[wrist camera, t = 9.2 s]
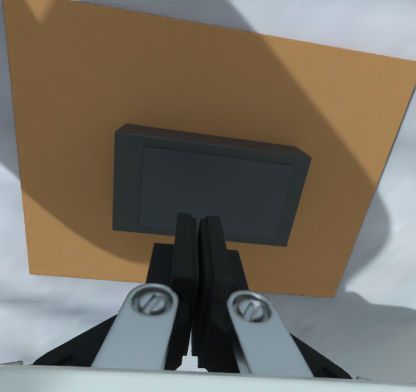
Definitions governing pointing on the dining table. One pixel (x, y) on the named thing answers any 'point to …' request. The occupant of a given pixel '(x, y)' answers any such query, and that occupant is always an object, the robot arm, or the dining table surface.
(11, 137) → the dining table surface
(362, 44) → the dining table surface
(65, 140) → the cork mat
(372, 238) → the dining table surface
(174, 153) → the block
